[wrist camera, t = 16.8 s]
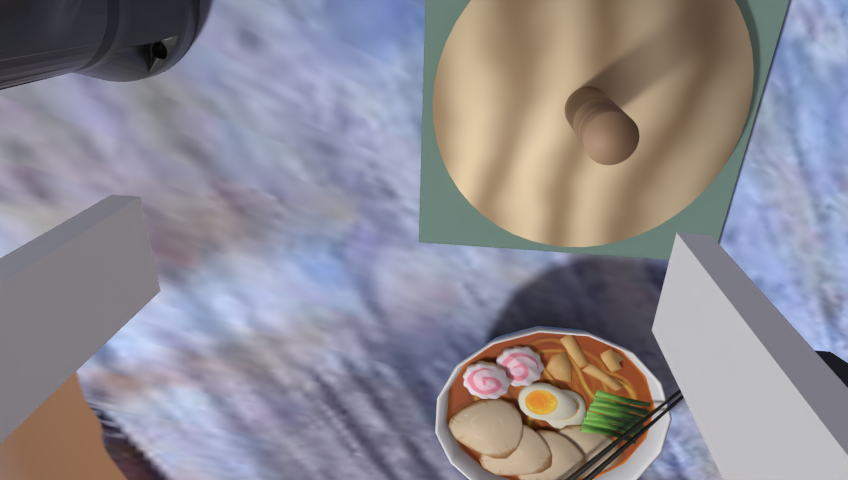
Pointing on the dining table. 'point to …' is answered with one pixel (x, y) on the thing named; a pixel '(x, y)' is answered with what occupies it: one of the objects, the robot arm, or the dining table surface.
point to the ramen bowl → (552, 409)
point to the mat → (464, 225)
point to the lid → (590, 111)
